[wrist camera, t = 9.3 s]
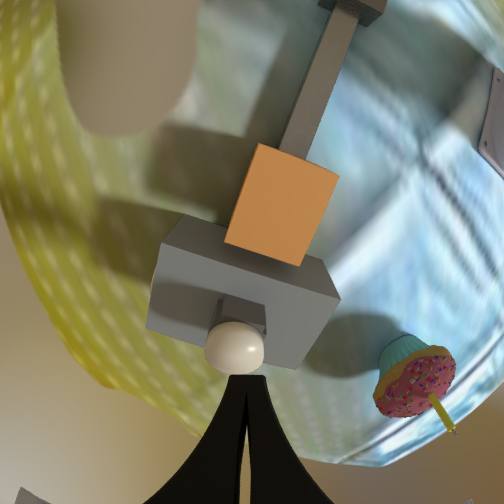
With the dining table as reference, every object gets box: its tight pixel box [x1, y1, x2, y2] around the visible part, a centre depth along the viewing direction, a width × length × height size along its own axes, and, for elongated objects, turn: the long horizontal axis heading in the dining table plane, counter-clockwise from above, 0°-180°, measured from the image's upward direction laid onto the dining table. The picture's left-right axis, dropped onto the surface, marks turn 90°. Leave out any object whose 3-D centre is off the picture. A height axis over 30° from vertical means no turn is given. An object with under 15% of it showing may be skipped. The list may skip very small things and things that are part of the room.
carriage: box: [224, 142, 339, 266], centre depth 15 cm, size 5×4×4 cm
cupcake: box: [373, 335, 458, 436], centre depth 18 cm, size 9×8×12 cm
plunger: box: [204, 322, 264, 375], centre depth 13 cm, size 3×3×3 cm
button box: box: [146, 214, 341, 370], centre depth 16 cm, size 6×10×7 cm, turn 70°
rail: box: [276, 0, 387, 160], centre depth 14 cm, size 20×4×3 cm, turn 160°
